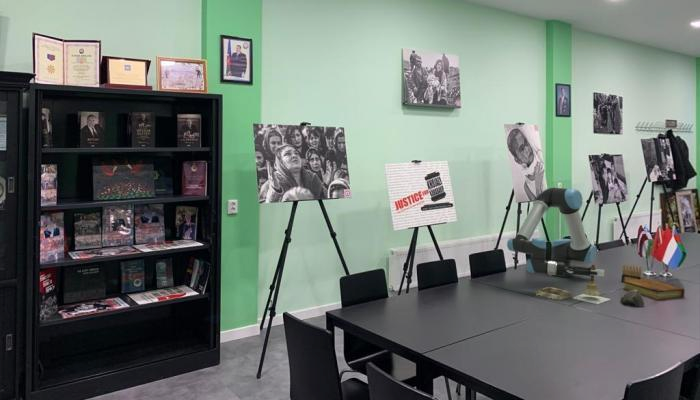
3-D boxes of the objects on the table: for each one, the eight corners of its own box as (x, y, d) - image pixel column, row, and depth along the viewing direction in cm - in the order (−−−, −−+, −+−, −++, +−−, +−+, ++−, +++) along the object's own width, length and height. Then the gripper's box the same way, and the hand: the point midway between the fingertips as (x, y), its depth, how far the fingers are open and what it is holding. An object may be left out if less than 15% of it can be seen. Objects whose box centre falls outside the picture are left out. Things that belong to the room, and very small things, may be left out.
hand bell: (581, 291, 276) (583, 262, 275) (598, 292, 274) (600, 263, 272) (584, 295, 268) (585, 265, 267) (601, 296, 266) (603, 267, 264)
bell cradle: (535, 295, 279) (535, 290, 279) (548, 291, 287) (549, 286, 287) (558, 300, 268) (558, 296, 268) (571, 296, 277) (571, 291, 276)
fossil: (614, 299, 269) (623, 283, 268) (629, 307, 269) (638, 291, 269) (626, 305, 258) (636, 288, 257) (641, 313, 258) (651, 296, 258)
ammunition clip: (641, 285, 303) (642, 265, 301) (640, 285, 301) (641, 265, 300) (622, 281, 310) (623, 262, 309) (621, 282, 309) (622, 263, 308)
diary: (684, 298, 276) (684, 288, 276) (657, 301, 271) (658, 291, 270) (647, 287, 298) (648, 278, 297) (622, 290, 292) (623, 280, 292)
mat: (572, 298, 273) (572, 297, 273) (585, 294, 281) (585, 293, 281) (598, 304, 262) (598, 303, 262) (610, 300, 270) (610, 299, 270)
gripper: (557, 272, 285) (603, 277, 275) (554, 278, 271) (603, 283, 261) (558, 259, 285) (604, 263, 274) (555, 264, 271) (604, 269, 260)
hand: (604, 273), depth 268 cm, fingers closed on hand bell, 3 cm apart
